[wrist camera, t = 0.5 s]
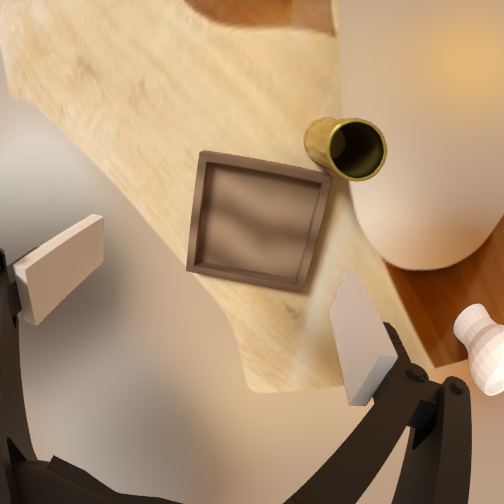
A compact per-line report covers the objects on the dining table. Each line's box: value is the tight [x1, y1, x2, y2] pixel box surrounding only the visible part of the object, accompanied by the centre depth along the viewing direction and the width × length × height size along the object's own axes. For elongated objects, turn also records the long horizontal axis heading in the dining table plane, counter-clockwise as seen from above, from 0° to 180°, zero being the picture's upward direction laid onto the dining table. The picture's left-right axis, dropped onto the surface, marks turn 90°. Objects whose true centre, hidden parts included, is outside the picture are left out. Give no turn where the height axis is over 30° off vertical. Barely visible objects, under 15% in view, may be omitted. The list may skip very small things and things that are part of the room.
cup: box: [453, 304, 504, 396], centre depth 37 cm, size 11×11×15 cm
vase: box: [304, 118, 387, 181], centre depth 29 cm, size 6×6×14 cm
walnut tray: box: [186, 150, 332, 293], centre depth 39 cm, size 16×16×2 cm
